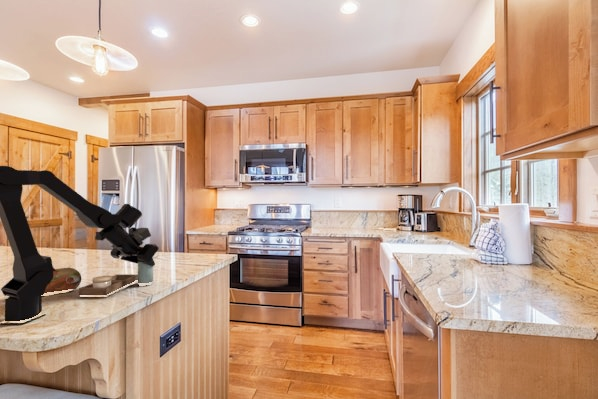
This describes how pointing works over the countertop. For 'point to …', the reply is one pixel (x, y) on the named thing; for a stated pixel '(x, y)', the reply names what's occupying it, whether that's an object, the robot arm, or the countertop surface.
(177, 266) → the countertop surface
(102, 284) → the cream lidded jar
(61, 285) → the tin
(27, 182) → the robot arm
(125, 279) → the caddy
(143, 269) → the tall jar
